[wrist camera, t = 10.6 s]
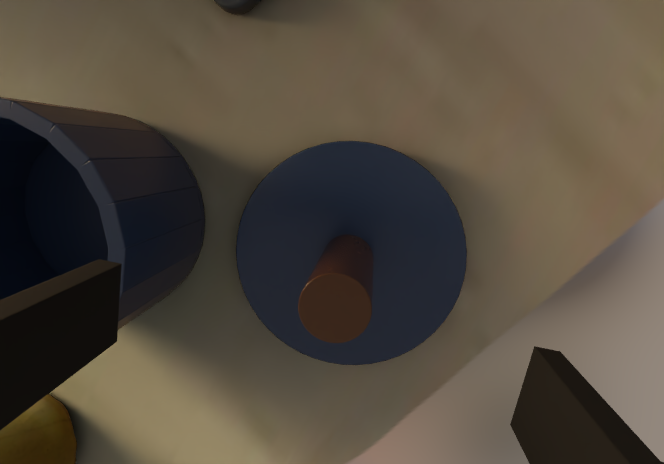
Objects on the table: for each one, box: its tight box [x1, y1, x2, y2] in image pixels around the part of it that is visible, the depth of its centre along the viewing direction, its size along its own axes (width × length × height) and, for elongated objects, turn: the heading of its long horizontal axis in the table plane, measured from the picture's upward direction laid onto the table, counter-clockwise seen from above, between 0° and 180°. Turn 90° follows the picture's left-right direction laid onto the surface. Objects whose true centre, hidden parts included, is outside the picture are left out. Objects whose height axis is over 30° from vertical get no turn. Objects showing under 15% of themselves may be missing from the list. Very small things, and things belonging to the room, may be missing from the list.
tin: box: [0, 97, 205, 330], centre depth 22 cm, size 13×13×8 cm
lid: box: [236, 141, 467, 365], centre depth 21 cm, size 14×14×9 cm
